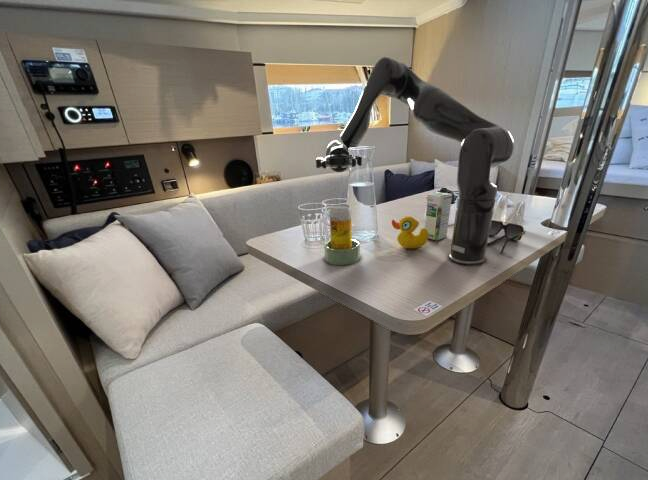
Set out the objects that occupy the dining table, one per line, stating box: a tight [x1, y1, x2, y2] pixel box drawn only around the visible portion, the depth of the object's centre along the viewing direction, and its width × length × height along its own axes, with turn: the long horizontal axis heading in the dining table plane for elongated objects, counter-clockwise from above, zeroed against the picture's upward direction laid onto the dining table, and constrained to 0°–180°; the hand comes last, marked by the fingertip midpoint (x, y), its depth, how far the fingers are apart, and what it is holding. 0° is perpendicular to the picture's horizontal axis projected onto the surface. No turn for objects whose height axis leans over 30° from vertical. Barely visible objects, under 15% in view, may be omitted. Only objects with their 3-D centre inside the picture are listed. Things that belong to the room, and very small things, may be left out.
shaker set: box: [492, 194, 526, 227], centre depth 112 cm, size 12×4×11 cm, turn 30°
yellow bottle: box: [329, 203, 353, 250], centre depth 92 cm, size 6×6×15 cm
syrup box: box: [424, 191, 453, 241], centre depth 105 cm, size 6×6×14 cm
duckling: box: [391, 215, 429, 249], centre depth 98 cm, size 11×5×10 cm, turn 74°
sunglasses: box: [489, 220, 526, 254], centre depth 101 cm, size 14×15×5 cm
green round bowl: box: [323, 239, 361, 266], centre depth 95 cm, size 10×10×4 cm
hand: (338, 163), depth 93 cm, fingers open, 8 cm apart
